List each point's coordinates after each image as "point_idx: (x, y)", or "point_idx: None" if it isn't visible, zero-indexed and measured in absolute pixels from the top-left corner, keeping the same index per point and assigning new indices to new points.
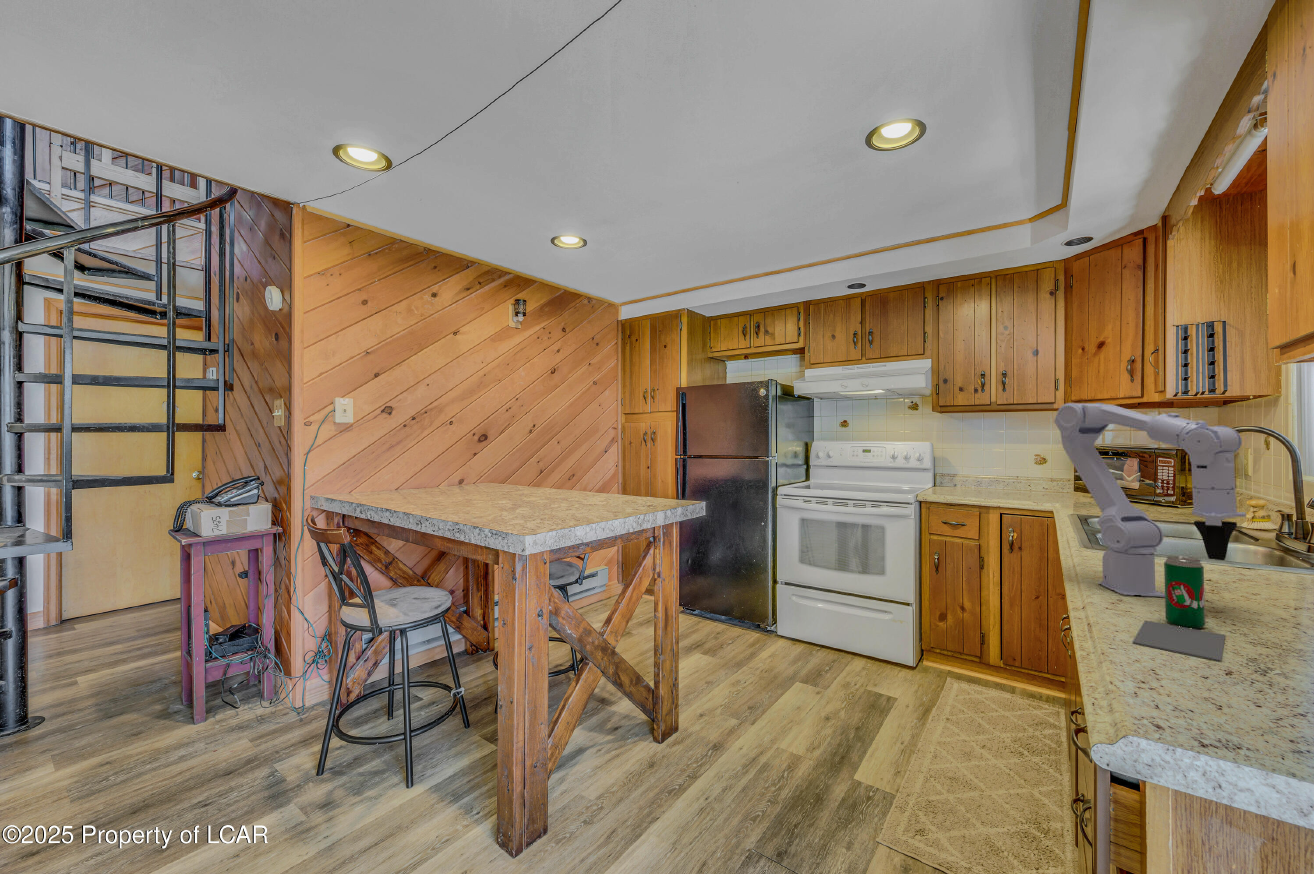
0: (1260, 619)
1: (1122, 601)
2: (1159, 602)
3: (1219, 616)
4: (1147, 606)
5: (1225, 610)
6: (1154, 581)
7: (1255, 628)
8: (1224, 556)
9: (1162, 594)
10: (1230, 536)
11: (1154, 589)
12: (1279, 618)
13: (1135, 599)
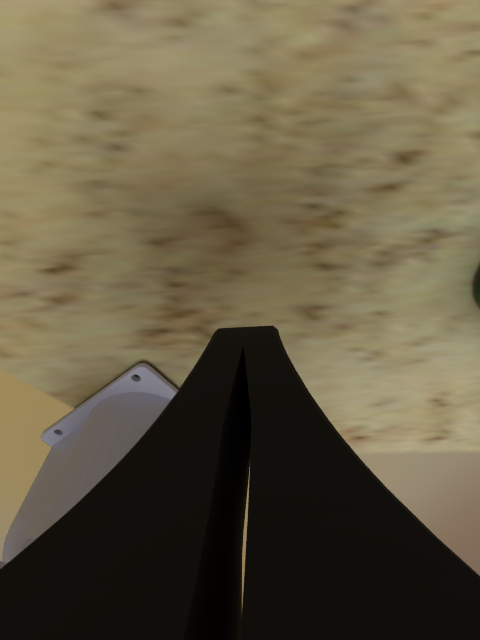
0: (224, 82)
1: None
2: None
3: (300, 209)
4: (327, 378)
5: (171, 204)
6: (132, 424)
7: (421, 83)
8: (281, 344)
9: (145, 375)
10: (392, 501)
11: (140, 401)
12: (128, 13)
13: None
